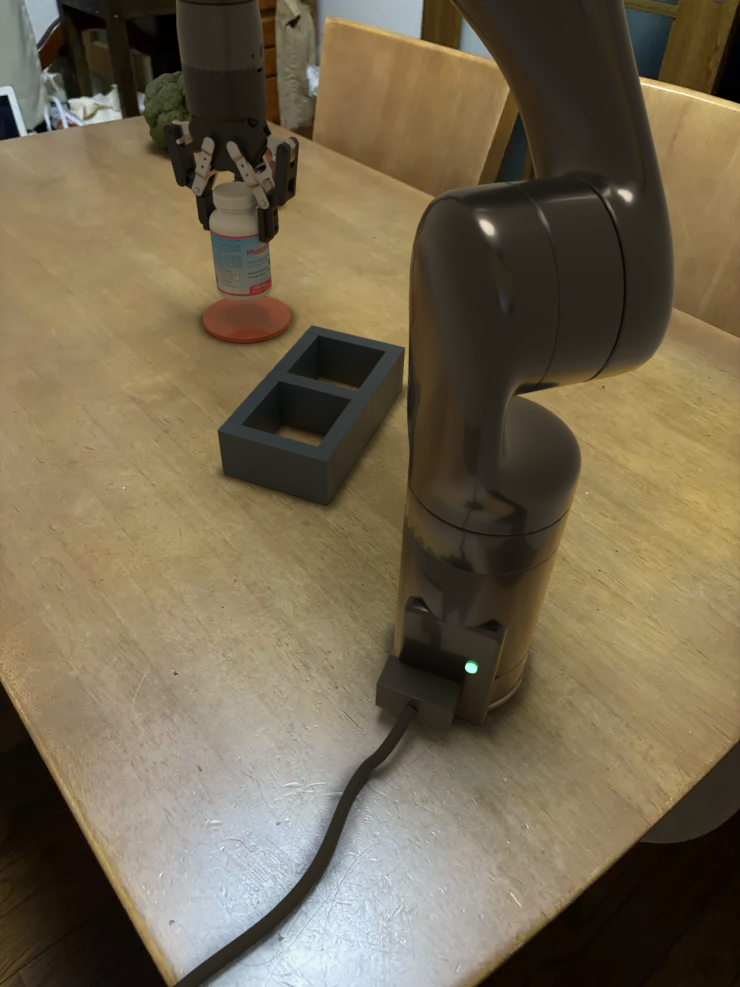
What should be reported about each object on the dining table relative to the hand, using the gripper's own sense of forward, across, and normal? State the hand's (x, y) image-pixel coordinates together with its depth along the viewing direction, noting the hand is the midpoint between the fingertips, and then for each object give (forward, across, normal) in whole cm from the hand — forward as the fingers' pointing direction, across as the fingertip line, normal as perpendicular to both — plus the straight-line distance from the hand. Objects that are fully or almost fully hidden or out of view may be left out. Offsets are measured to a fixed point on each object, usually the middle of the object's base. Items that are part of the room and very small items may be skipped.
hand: (239, 233), depth 80 cm
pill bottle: (+7, 0, 0) cm, 7 cm away
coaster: (+10, 0, 0) cm, 10 cm away
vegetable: (+11, -36, +46) cm, 59 cm away
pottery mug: (+11, -15, +33) cm, 38 cm away
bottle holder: (+10, +16, -15) cm, 24 cm away
